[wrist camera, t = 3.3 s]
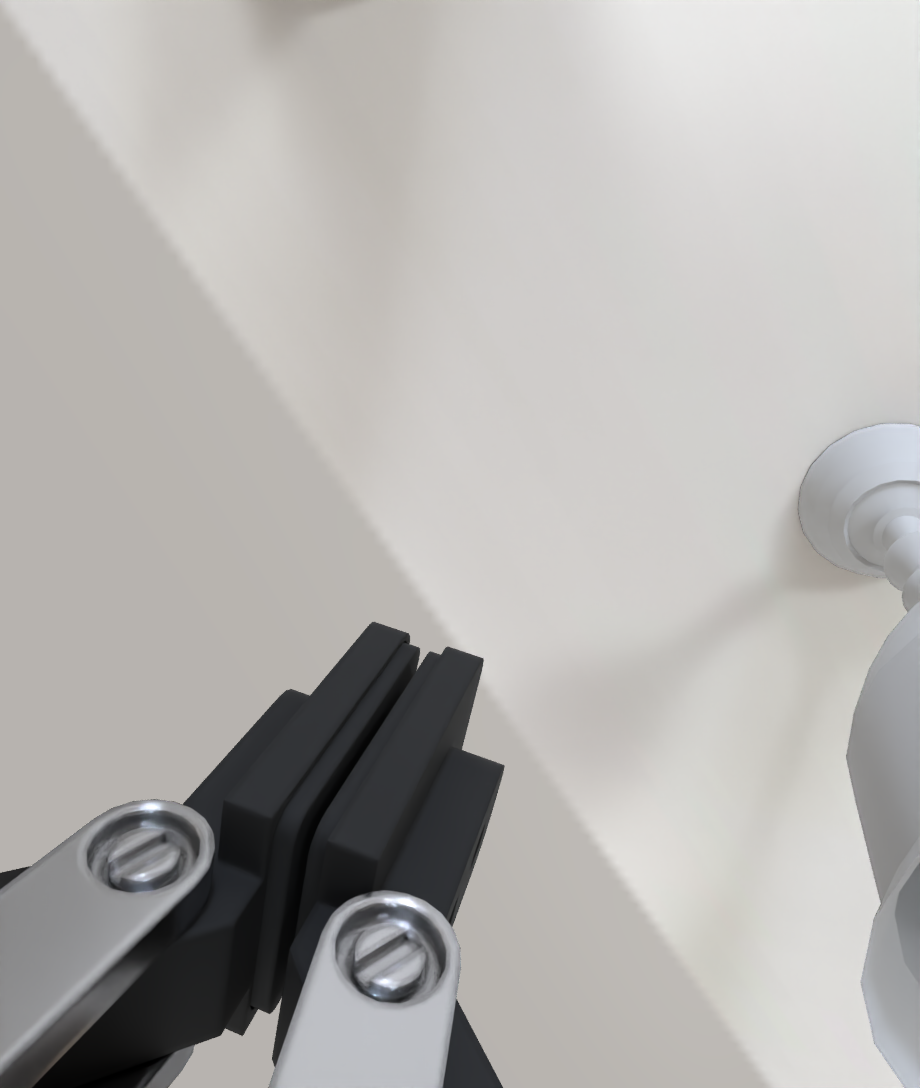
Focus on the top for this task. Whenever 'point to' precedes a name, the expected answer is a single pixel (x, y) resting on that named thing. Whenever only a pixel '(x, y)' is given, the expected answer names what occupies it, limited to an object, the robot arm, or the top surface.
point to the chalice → (882, 707)
